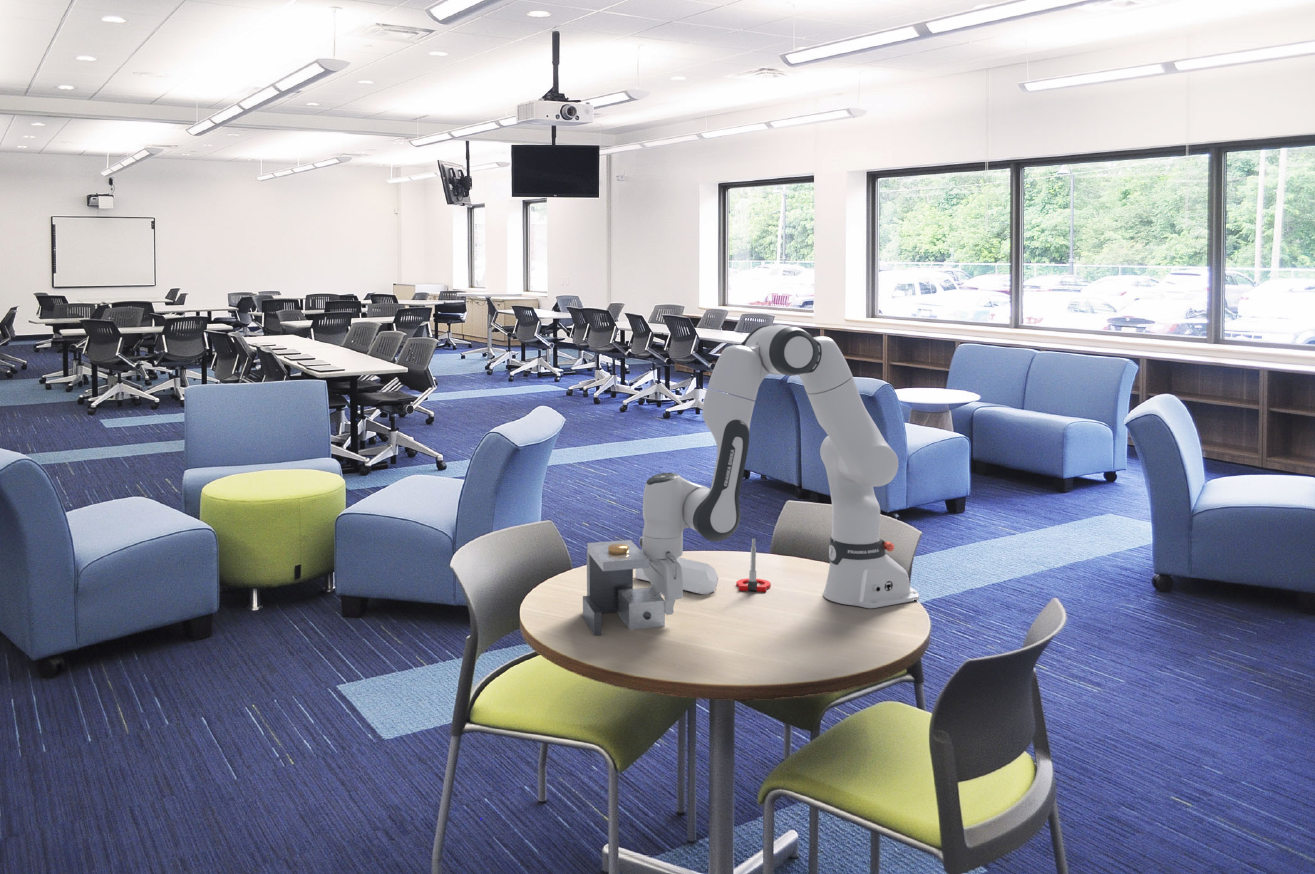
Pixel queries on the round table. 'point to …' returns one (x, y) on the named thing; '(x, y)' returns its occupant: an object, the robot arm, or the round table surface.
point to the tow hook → (753, 577)
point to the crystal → (693, 576)
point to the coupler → (609, 577)
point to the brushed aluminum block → (641, 608)
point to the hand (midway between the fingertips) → (662, 607)
